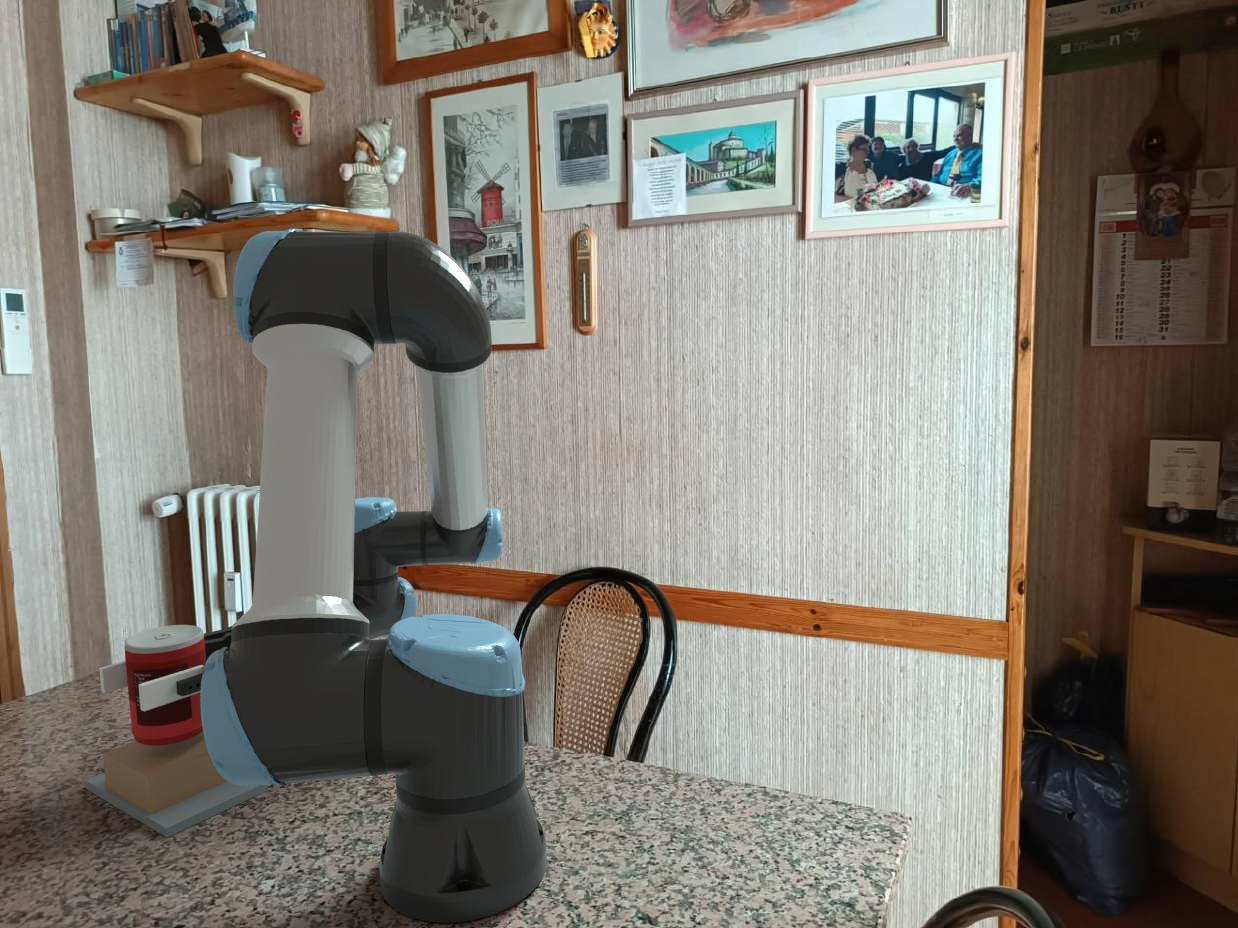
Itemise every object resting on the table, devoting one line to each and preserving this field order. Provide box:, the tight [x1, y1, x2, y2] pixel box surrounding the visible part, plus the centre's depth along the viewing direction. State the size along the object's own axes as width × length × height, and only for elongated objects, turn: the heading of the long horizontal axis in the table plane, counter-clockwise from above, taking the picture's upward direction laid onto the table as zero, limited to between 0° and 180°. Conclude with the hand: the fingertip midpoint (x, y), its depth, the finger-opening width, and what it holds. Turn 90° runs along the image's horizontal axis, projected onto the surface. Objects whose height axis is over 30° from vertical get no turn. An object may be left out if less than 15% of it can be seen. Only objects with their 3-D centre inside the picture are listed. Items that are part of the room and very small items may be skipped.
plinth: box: [84, 731, 269, 838], centre depth 89 cm, size 18×11×5 cm, turn 56°
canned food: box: [124, 624, 206, 746], centre depth 88 cm, size 8×8×11 cm
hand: (121, 688), depth 84 cm, fingers closed on canned food, 8 cm apart
